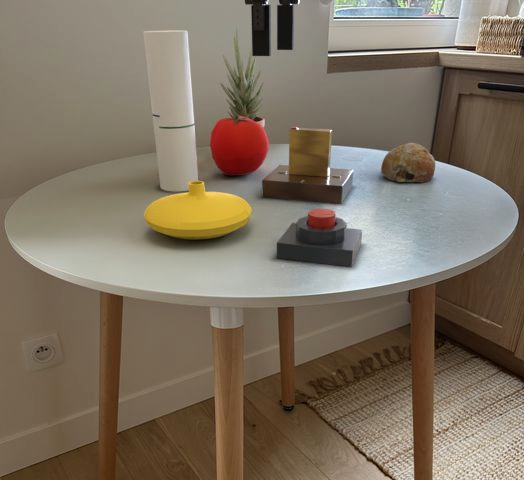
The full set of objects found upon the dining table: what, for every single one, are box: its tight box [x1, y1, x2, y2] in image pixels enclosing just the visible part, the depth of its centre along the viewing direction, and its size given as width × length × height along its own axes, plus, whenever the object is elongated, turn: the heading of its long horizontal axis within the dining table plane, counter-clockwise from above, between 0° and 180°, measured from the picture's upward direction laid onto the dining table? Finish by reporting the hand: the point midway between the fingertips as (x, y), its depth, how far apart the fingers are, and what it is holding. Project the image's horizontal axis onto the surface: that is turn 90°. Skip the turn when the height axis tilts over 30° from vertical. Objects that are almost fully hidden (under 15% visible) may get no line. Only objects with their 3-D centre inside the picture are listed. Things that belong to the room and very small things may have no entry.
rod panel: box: [261, 164, 354, 205], centre depth 97 cm, size 14×11×3 cm
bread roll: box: [380, 142, 436, 184], centre depth 104 cm, size 10×10×8 cm
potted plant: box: [220, 27, 266, 128], centre depth 116 cm, size 10×10×25 cm
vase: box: [143, 180, 253, 241], centre depth 79 cm, size 16×16×7 cm
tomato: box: [209, 111, 270, 176], centre depth 105 cm, size 12×12×11 cm
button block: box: [276, 215, 363, 267], centre depth 73 cm, size 10×8×4 cm
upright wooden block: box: [288, 125, 333, 177], centre depth 94 cm, size 7×2×8 cm, turn 73°
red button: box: [307, 208, 337, 229], centre depth 71 cm, size 4×4×2 cm
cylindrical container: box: [142, 29, 199, 193], centre depth 95 cm, size 7×7×25 cm
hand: (274, 53), depth 87 cm, fingers open, 13 cm apart
